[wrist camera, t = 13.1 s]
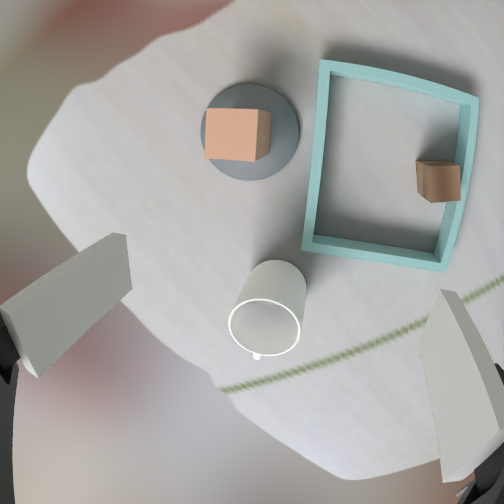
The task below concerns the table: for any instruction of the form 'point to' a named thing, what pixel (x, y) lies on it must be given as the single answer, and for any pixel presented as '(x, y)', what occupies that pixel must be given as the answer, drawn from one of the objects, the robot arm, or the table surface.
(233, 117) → the painted box
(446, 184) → the walnut block
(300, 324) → the cup
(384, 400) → the table surface
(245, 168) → the grey dome puck
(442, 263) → the corral
